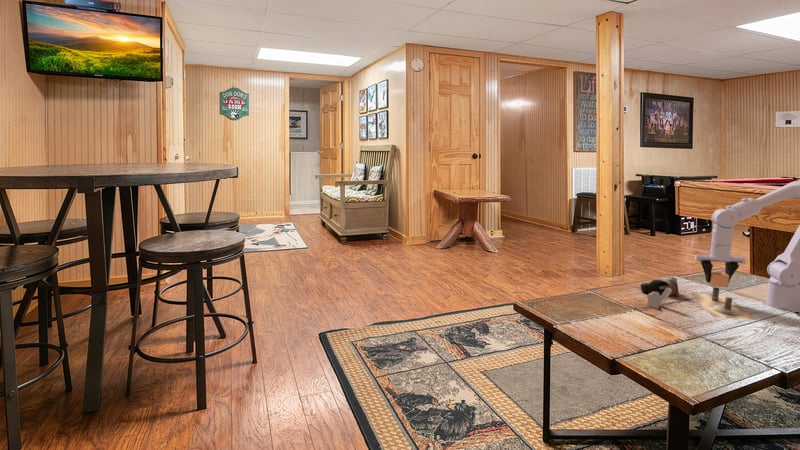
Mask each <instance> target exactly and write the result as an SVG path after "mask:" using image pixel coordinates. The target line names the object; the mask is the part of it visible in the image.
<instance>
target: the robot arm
mask: <svg viewBox="0 0 800 450" xmlns="http://www.w3.org/2000/svg"><path fill="white" fill-rule="evenodd" d="M789 198H794V199H795V198H797V199H800V178H799V179H797V180H794V181H792V182H789V183H786V184H785V185H783V186H781V187H778V188H776V189H774V190H772V191H770V192H768V193H766V194H764V195H762V196H760V197H758V198H754V197H753V198H752V197H747V198H746V197H743V198H741V199H740V201H739V202H736V203H734V204H731V205H726V206H725V208H719V209H717V210H715V211H714V212H713V213H712V215H711V216H710V218H711V219H710V220H711V222H712V223H713V226H712V227H713V228H712V234H711V243H710V251H709V252H710V253H709V254H694V261H695V262H700V264H701V266H702V269H703V272H704V275H705V277H704V278H705V282H706V281H707V282H710V280H711V271H712V269H713V268H714V265H713V264H712V263H724V265H725V266H724V267H725V268H724V273H726V274H727V275H729V283H730V282H731V279H732V277H733V276H734V274H735V272H736V271H737V270H738V269H739V268H740V264H741V265H742V264H743V265H745V264H746V262H747V258H746V257H744V256H735V255H733V256H732V255H731V253H732V245H733V236H734V227H735V226H736V225H737V224H738V223H739V222H741V221H743V220H745V219H748V218H750V217H752V216H755V215H758V214H760V212H761V211H762V208H764V207H765V208H766V207H768V206H770V205H774V204H776V203H779V202H781V201H784V200H787V199H789ZM766 271H767V275H768V276H770V277H769V281H768V286H767V287H768V288H767V289H768V290H767V294H766V295H767V296H766V301H765V304H766V305H767V306H768V307H771V308H774V309H780V310H789V311H790V312H792V313H793V312H799V313H798V314H800V224H799V225H798V227H797V229H796V231H795V232H794V234H793V236H792V237H791V239H790V242H789V243H788V245H787V247H786V248H785V250H784V252H783V253H781V254H778V255H777V257H776V258H775V259H774V261H773V260H772V262H770V263H769V264H768V266H767V268H766ZM707 282H706V283H707ZM729 283H728V285H729Z"/></svg>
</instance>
